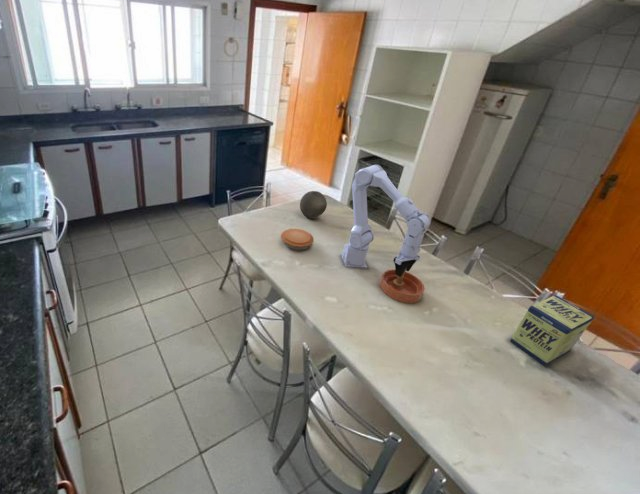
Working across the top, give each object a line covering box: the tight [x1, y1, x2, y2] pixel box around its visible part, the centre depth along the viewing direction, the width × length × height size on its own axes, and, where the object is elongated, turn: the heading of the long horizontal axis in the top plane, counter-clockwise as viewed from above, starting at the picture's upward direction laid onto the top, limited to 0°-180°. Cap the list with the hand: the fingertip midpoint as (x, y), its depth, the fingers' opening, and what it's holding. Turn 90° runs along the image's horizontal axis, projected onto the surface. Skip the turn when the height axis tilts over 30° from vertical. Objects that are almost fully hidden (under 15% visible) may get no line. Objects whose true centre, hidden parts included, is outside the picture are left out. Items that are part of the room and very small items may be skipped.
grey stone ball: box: [299, 190, 328, 219], centre depth 178 cm, size 14×14×15 cm
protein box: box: [509, 294, 596, 367], centre depth 105 cm, size 10×16×16 cm
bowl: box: [379, 269, 426, 304], centre depth 129 cm, size 15×15×4 cm
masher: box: [393, 268, 407, 289], centre depth 129 cm, size 4×4×10 cm
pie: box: [280, 228, 314, 251], centre depth 155 cm, size 16×16×5 cm
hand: (402, 272), depth 129 cm, fingers open, 5 cm apart
